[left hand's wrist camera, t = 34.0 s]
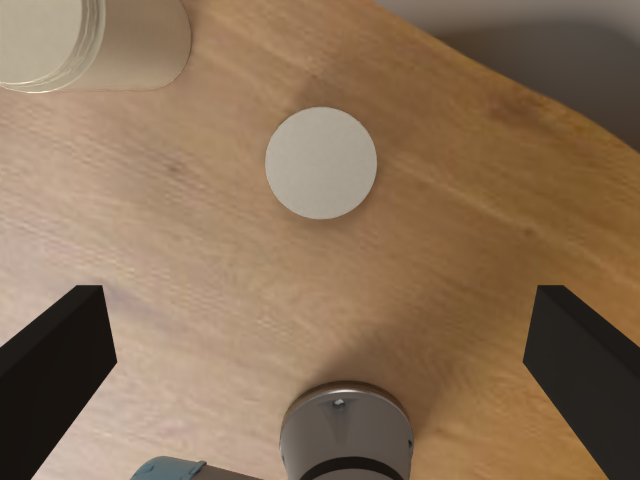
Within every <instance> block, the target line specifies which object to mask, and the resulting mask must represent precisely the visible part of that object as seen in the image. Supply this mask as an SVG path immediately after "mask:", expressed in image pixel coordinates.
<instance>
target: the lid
mask: <svg viewBox="0 0 640 480" xmlns="http://www.w3.org/2000/svg"><path fill="white" fill-rule="evenodd" d="M287 118H288V119H286V120H285V121H284V122H283V123H282V124H281V125H279V126H278V129H277V130H276V131H275V133H274V134H273V135H272V136H271V140H270V142H269V145H268V147H267V152H266V159H265V169H266V175H267V179H268V182H269V185H270V187H271V189H272V191H273V192H274V194H275V196H276V197H277V198H278V199H279V201H280V202H281V203H282V204H283V205H284V206H286V207H287V208H288V209H290V210H291V211H293V212H295V213H296V214H299V215H301V216H304V217H307V218H312V219H331V218H335V217H338V216H341V215H344V214H346V213H348V212H350V211H351V210H353V209H354V208H355V207H357V206H358V205H359V204H360V203H361V202H362V201H363V200H364V198H365V197H366V196H367V194H368V193H369V191H370V189H371V187H372V185H373V183H374V180H375V176H376V171H377V155H376V151H375V147H374V143H373V141H372V139H371V137H370V135H369V134H368V133H369V132H368V131H366V129H365V128H364V127H363V126H362V125H361V124H360V123H361V122H360V121H357V120H356V119H355V118H354V117H352V116H351V114H347V113H345V112H343V111H341V110H339V109H338V108H337V109H335V108H330V107H326V106H324V107H313V106H312V107H311V108H307V109H304V110H299V112H297V113H295V114H293V115H292V116H288V117H287Z"/></svg>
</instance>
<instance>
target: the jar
mask: <svg viewBox="0 0 640 480" xmlns="http://www.w3.org/2000/svg"><path fill="white" fill-rule="evenodd" d="M190 49H191V29H190V24H189V19H188V17H187V14H186V11H185V9H184V7H183V5H182V3H181V1H180V0H0V86H1V87H4V88H7V89H10V90H14V91H18V92H26V93H61V92H110V91H150V90H155V89H159V88H162V87H164V86H166V85H168V84H169V83H170V82H172V81H173V80H174V79H175V78H176V77H177V76H178V75H179V74H180V73H181V71H182V70H183V68H184V67H185V65H186V63H187V60H188V57H189V54H190Z"/></svg>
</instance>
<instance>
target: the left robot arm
mask: <svg viewBox="0 0 640 480" xmlns="http://www.w3.org/2000/svg"><path fill="white" fill-rule="evenodd" d="M116 363H117V358H116V353H115V348H114V343H113V338H112V333H111V328H110V322H109V317H108V312H107V307H106V302H105V297H104V292H103V287H102V285H76V286H75V287H74V288H73V289H72V290H70V291H69V292H68V293H67V294H65V295H64V296H63V297H62V298H61V299H59V300H58V301H57V302H56V303H54V304H53V305H52V306H51V307H49V308H48V309H47V310H46V311H45V312H43V313H42V314H41V315H40V316H38V317H37V318H36V319H35V320H34V321H32V322H31V323H30V324H29V325H27V326H26V327H25V328H24V329H22V330H21V331H20V332H19V333H18V334H16V335H15V336H14V337H13V338H11V339H10V340H9V341H8V342H6V343H5V344H4V345H3V346H2V347H0V480H31V479H32V477H33V476H34V474H35V473H36V472H37V470H38V469H39V468H40V466H41V465H42V464H43V462H44V461H45V460H46V458H47V457H48V456H49V454H50V453H51V451H52V450H53V449H54V447H55V446H56V445H57V443H58V442H59V441H60V439H61V438H62V437H63V435H64V434H65V432H66V431H67V430H68V428H69V427H70V426H71V424H72V423H73V422H74V420H75V419H76V418H77V416H78V415H79V413H80V412H81V411H82V409H83V408H84V407H85V405H86V404H87V403H88V401H89V400H90V399H91V397H92V396H93V394H94V393H95V392H96V390H97V389H98V388H99V386H100V385H101V384H102V382H103V381H104V380H105V378H106V377H107V375H108V374H109V373H110V371H111V370H112V369H113V367H114V366H115V365H116ZM523 363H524V365H525V366H526V367H527V369H528V370H529V371H530V373H531V374H532V375H533V377H534V378H535V380H536V381H537V382H538V384H539V385H540V386H541V388H542V389H543V390H544V392H545V393H546V394H547V396H548V397H549V399H550V400H551V401H552V403H553V404H554V405H555V407H556V408H557V409H558V411H559V412H560V413H561V415H562V416H563V418H564V419H565V420H566V422H567V423H568V424H569V426H570V427H571V428H572V430H573V431H574V432H575V434H576V435H577V437H578V438H579V439H580V441H581V442H582V443H583V445H584V446H585V447H586V449H587V450H588V451H589V453H590V454H591V456H592V457H593V458H594V460H595V461H596V462H597V464H598V465H599V466H600V468H601V469H602V470H603V472H604V473H605V474H606V476H607V477H608V479H609V480H640V347H638V346H637V345H636V344H635V343H634V342H632V341H631V340H630V339H629V338H627V337H626V336H625V335H624V334H622V333H621V332H620V331H619V330H618V329H616V328H615V327H614V326H613V325H611V324H610V323H609V322H608V321H606V320H605V319H604V318H603V317H602V316H600V315H599V314H598V313H597V312H595V311H594V310H593V309H592V308H591V307H589V306H588V305H587V304H586V303H584V302H583V301H582V300H581V299H579V298H578V297H577V296H576V295H575V294H573V293H572V292H571V291H570V290H568V289H567V288H566V287H565V286H564V285H538V287H537V292H536V297H535V302H534V307H533V312H532V317H531V322H530V327H529V333H528V338H527V343H526V348H525V353H524V358H523ZM413 446H414V438H413V432H412V428H411V425H410V421H409V418H408V415H407V413H406V411H405V409H404V408H403V406H402V405H401V404H400V402H399V401H398V400H397V399H396V398H395V397H393V396H392V395H391V394H389V393H388V392H386V391H385V390H383V389H381V388H379V387H376V386H374V385H371V384H367V383H363V382H356V381H339V382H332V383H327V384H324V385H321V386H318V387H315V388H313V389H311V390H309V391H308V392H306V393H304V394H303V395H301V396H300V397H299V398H298V399H297V400H296V401H295V402H294V403H293V404H292V405H291V406H290V408H289V409H288V411H287V412H286V414H285V416H284V419H283V422H282V426H281V434H280V452H281V456H282V460H283V463H284V466H285V468H286V470H287V474H288V479H289V480H409V477H410V470H411V459H412V454H413ZM206 464H207V462H205V461H199V462H194V461H188V460H183V459H178V458H173V457H168V456H159V457H156V458H153V459H151V460H149V461H147V462H146V463H145V464H143V465H142V466H141V467H140V468H139V469H138V470H137V471H136V473H135V474H134V475H133V476H132V478H131V479H130V480H263V479H258V478H255V477H251V476H247V475H243V474H240V473H236V472H232V471H228V470H225V469H221V468H217V467H213V466H209V465H206Z"/></svg>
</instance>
